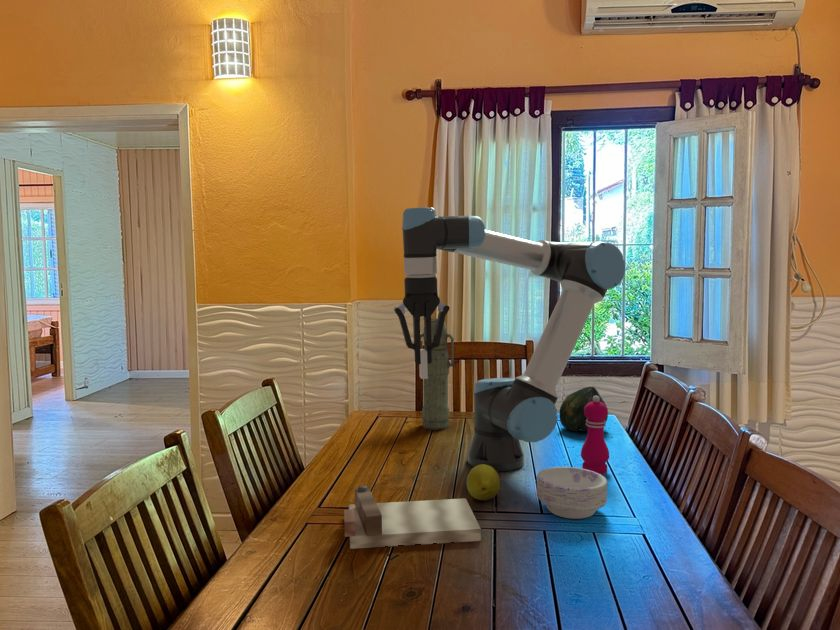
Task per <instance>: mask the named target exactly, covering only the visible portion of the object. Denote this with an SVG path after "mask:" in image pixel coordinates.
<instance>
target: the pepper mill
mask: <svg viewBox="0 0 840 630" xmlns="http://www.w3.org/2000/svg"><path fill="white" fill-rule="evenodd" d="M599 401H600V398H599V397H598V396H594V397H593V401H592V402H589V403H588V404H586V406H585V408H584V414H585V416H586V417H587V419H586V425H587V427H588V431H587V435H586V437H585V440H584V443H583V445H582V446H581V450H580V457H581V459H582V460H583V462H582V466H581V468H583V469H587V470H591V471H594V472H597V473H599V474H601V475H602V476H603V475H605V474H607V472H608V465H607V462H608V461H609V459H610V449H609V447H608V445H607V443H606V440H605V437H604V429H605V427H606V426H607V425H606V424H605V423H607V421H605V420H604V419H605V418H606V417H607V415H608V416H609V410H608V406H607V405H605V404H606V403H605V404H604V403H602V402H599ZM606 406H607V407H606Z"/></svg>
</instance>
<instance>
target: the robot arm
mask: <svg viewBox="0 0 840 630" xmlns="http://www.w3.org/2000/svg"><path fill="white" fill-rule="evenodd" d="M485 226H486V225H485V222H484V221H483V219H482V218H481V217H480V216H478V215H450V216H449V215H446V216H440V215H439V216H438V215H437V213H436V209H435V208H434V207H425V206H424V207H408V208H406V209H404V211H403V212H402V226H401V230H402V243H403V246H402V247H403V274H404V276H405V278H404V281H403V282H404V297H403V299H402V303H401V304H399V305H398V306H395V307H393V311H394V313H395V314H396V316H397V317H398V320H399V323H400V324H399V325H400V328H401V331H402V334H403V335H402V336H403V339H404V342H405V345H406V347H407V348H408V349H411V350H413V351H414V363H415V364H416V365H419V366H418V367H419V378H420V379H421V380H424V379H428V367H427V364H430V363H431V362H432V349H433V348H435V347H438V346H439V344H440V339H441V334H442V330H443V325H444V321H445V320H446V316H447V314H448V312H449V311H450V306H449V305H448V304H445V303H443V302H442V301H441V298H440V297H439V294H438V292H439V291H438V278H437V276H435V275H437V274H438V263H437V250H439V251H440V250H441V251H445V252H448V253H455V254H459V255H462V256H463V255H464V256H468V257H471V258H476V259H481V260H485V261H489V262H493V263H499V264H503V265H507V266H511V267H516V268H521V269H525V270H529V271H530V273H531V274H532V275H535V276H539V277H541V278H545V279H546V278H547V279H549V280H553V281H555V282H558V283H559V284H560V287H561V289H562V290H561V294H560V296H559V297H558V299H557V302H556V304H555V306H554V309H553V310H552V313H551V314H550V317H549V319H548V322H547V323H546V325H545V328H544V330H543V332H542V334H541V336H540V338H539V340H538V343H537V344H536V347H535V349H534V351H533V353H532V355H531V357H530V360H529V362H528V364H527V366H526V368H525V371H524V372H523V374H522V375H519V376H516V377H495V378H484V379H483V378H482V379H479V380H477V381H476V382H475V384H474V389H473V397H474V399H473V404H474V406H473V408H474V409H473V411H474V412H473V414H474V415H473V417H474V418H473V420H474V421H473V425H474V428H473V431H474V432H473V433H474V434H473V437H472V440H471V443H470V446H469V449H468V452H467V464H468V465H469V466H470V467H472V468H474V467H475V466H477V465H481V464H485V465H489V466H491V467H493V468H494V469H495V470H496V472H509V471H514V470H517V469H520V468H521V467H523V466H524V464H525V463H524V462H525V456H524V451H523V448H522V445H521V443H520V441H523V442H526V443H538V442H540V441H543V440H545V439H546V438H547V437H549V436H550V435H551V434H552V432H553V431H554V429H555V428H556V425H557V424H558V419H559V418H558V417H559V416H558V414H557V412H558V409H557V407H556V403H557V400H558V398H559V396H558V394H557V391H556V388H557V386H558V384H559V382H560V380H561V377H562V375H563V373H564V370H565V368H566V366H567V364H568V362H569V359H570V357H571V355H572V353H573V352H574V349H575V347H576V344H577V343H578V340H579V339H580V335H581V334H582V332H583V329H584V327H585V325H586V323H587V320H588V318H589V317H590V313H591V312H592V310H593V307H594V306H595V304H598V303H600V302H603V301H604V299H605V296H606V293H608V292H607V291H608V290H611V289H613V288H615V287H618V285H620V284H621V282H622V280H623V279H624V277H625V273H626V262H625V260H624V255H623V253H622V251H621V250H620V248H618V247H617V246H616V245H615V244H613V243H612V242H607V241H600V240H595V241H560V242H559V241H550V240H545V239H541V240H538V241H534V240H533V241H532V240H530V239H529V240H528V239H524V238H522V237H521V238H520V237H516V236H512V235H509V234H508V235H507V234H505V233H504V234H503V233H500V232H495V231H492V230H487V229H486V227H485ZM405 309H406V310H407V311H408V312H409V314H410V316H412V321H413V322H412V330H413V332H412V333H413V341H412V337H411V335H410V330H409V327H408V324H407V320H406V316H405V313H406V310H405ZM436 309H437V311H438V314H437V318H436V319H437V323H436V328H435V333H434V337H433V342H432V338H431V319H432V315H433V314H434V312H435V311H436ZM421 317H423V323H424V325H423V333H425V349H424V348H422V342H421V343H420V334H421Z"/></svg>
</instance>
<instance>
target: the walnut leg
mask: <svg viewBox="0 0 840 630" xmlns="http://www.w3.org/2000/svg"><path fill="white" fill-rule="evenodd" d="M376 503H377V502H376V500H375V497H374V495H373V493H372V492H371V490H370V488H369V486H367V485H358V486H357V487H355V488H354V504H355V507H356V510H357V512H358V515H359V517H360V520H361V523H362V525H363V528H364V530H365V533H366V536H376V535H382V514H381V512H380V510H379V508H378V506H377V504H376Z"/></svg>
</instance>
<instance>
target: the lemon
mask: <svg viewBox="0 0 840 630" xmlns="http://www.w3.org/2000/svg"><path fill="white" fill-rule="evenodd" d="M465 480H466V482H465V483H466V488H467V490H468V493H469V494H470V496H471V497H472V498H474V499H475V500H478V501H488V500H491V499H493V498H495V497H496V496H497V494H498V493H499V491H500V488H501V483H500V482H501V481H500V476H499V474H498V471H496V470H495V469H494V468H493V467H491V466H489V465H485V464H481V465H477V466H475V467H472V468H471V469H470V470H469V473H468V474H467V476H466V479H465Z"/></svg>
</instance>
